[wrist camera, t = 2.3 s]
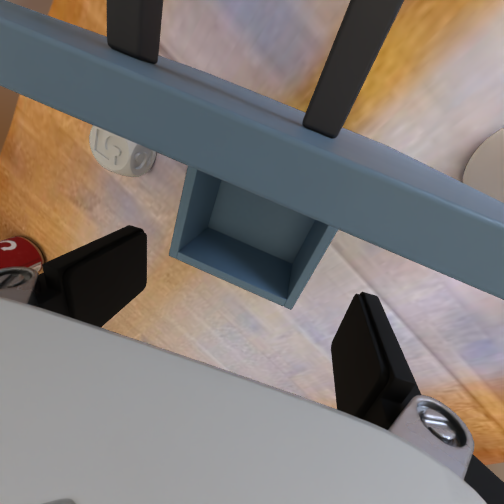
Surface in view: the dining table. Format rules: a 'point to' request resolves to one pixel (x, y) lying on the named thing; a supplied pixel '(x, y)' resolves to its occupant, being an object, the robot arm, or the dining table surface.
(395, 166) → the lid
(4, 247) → the soda can
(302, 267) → the chest
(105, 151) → the die
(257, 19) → the dining table surface
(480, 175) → the alcohol
